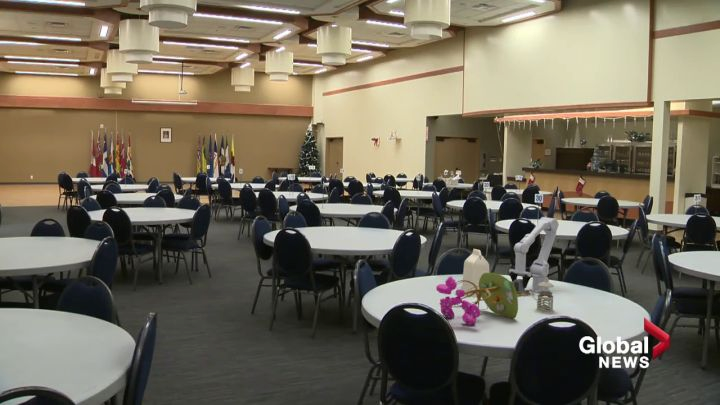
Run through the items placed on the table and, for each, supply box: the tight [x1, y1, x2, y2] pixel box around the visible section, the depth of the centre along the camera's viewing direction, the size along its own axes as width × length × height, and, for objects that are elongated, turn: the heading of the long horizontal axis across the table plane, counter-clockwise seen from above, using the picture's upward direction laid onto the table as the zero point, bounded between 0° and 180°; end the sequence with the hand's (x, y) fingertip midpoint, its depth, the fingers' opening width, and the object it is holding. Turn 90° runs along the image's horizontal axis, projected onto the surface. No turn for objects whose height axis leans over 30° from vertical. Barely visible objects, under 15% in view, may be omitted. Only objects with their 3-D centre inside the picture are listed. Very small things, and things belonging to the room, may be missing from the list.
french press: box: [531, 262, 555, 315], centre depth 333 cm, size 10×12×25 cm
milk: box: [461, 248, 490, 298], centre depth 369 cm, size 12×12×26 cm
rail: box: [509, 280, 532, 298], centre depth 372 cm, size 18×10×8 cm, turn 127°
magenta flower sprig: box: [435, 272, 519, 326], centre depth 313 cm, size 30×28×35 cm
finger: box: [514, 278, 526, 292], centre depth 374 cm, size 4×6×7 cm
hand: (519, 286), depth 375 cm, fingers open, 7 cm apart
